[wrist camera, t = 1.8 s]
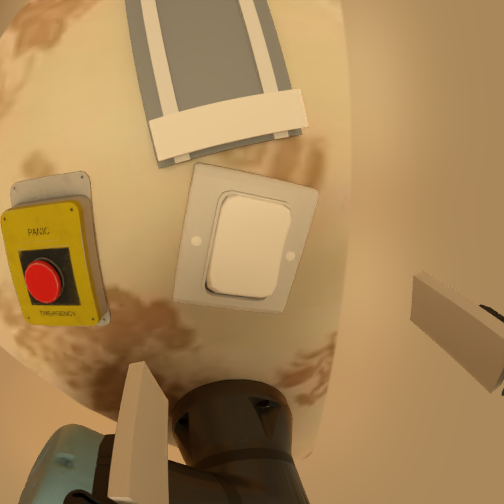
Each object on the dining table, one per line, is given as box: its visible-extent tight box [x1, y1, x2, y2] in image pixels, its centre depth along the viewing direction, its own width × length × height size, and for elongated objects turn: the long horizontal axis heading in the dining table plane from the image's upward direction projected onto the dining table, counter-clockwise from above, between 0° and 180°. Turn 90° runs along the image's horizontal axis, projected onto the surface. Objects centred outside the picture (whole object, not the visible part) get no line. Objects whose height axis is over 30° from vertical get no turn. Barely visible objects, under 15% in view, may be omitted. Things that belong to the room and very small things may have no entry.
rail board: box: [125, 0, 309, 168], centre depth 16 cm, size 27×12×4 cm, turn 13°
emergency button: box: [0, 171, 111, 327], centre depth 21 cm, size 9×4×15 cm
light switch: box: [172, 163, 318, 314], centre depth 25 cm, size 11×4×13 cm
